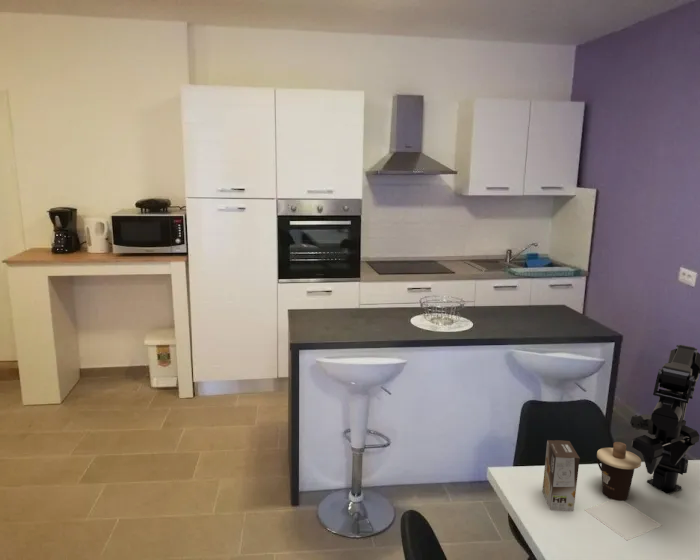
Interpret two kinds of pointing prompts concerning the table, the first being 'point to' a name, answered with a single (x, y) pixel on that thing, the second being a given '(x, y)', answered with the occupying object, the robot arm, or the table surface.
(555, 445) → the coffee box
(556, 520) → the table surface
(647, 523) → the mat
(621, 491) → the coffee mug
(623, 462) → the lid
